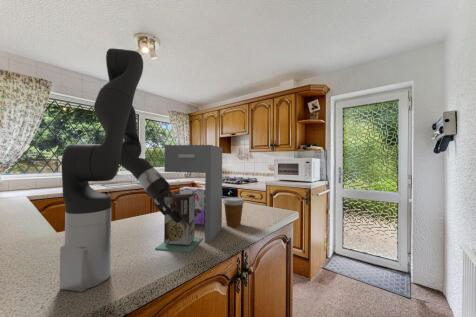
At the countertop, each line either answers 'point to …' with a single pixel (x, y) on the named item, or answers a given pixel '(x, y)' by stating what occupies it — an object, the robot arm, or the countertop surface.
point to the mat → (179, 246)
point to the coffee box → (186, 226)
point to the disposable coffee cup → (233, 211)
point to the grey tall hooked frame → (210, 164)
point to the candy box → (197, 202)
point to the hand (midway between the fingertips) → (184, 218)
